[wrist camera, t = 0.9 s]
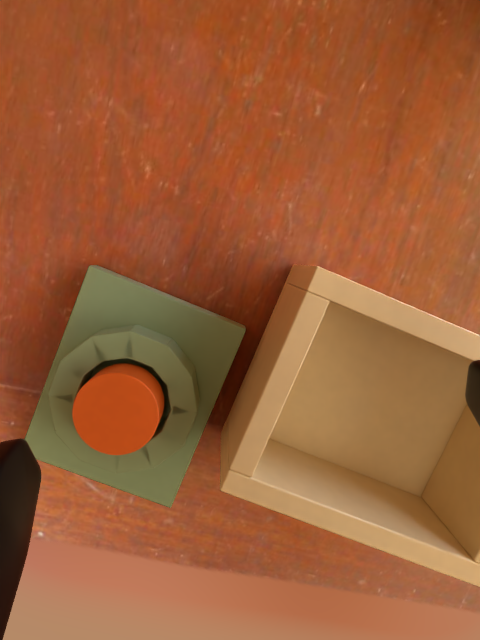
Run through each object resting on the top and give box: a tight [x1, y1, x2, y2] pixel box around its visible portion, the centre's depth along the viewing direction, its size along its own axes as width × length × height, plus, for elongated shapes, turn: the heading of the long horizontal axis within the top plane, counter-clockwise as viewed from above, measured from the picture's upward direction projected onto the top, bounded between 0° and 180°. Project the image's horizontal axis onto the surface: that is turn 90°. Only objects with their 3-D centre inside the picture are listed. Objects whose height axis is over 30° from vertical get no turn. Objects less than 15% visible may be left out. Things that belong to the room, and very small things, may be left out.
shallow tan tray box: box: [220, 264, 480, 587], centre depth 20 cm, size 10×12×6 cm
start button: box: [72, 363, 165, 455], centre depth 19 cm, size 4×4×2 cm
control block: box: [24, 265, 246, 508], centre depth 21 cm, size 10×8×3 cm
